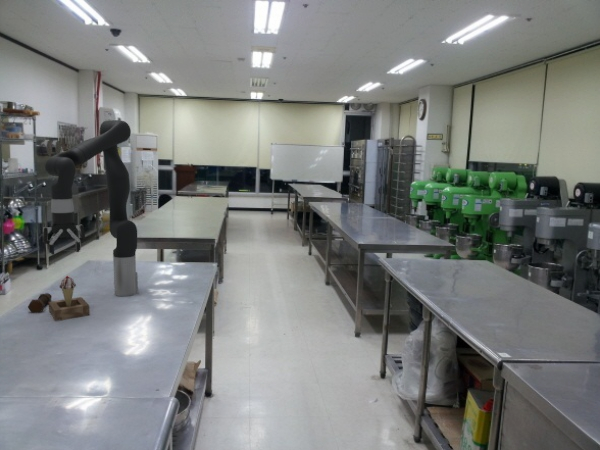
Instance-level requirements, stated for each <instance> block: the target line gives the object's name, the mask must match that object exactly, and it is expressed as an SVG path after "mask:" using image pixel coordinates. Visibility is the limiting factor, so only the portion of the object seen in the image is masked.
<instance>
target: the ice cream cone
mask: <svg viewBox="0 0 600 450" xmlns="http://www.w3.org/2000/svg"><path fill="white" fill-rule="evenodd" d="M75 287H77V284H76V283H75V281H74V278H71V277H70V276H68V275H66V276H65V277H64V278H63V279H62V280H61V282H60V284H59V289H60V290H61V291H62V295H63V300H65V302H66V306H67V307H69V306H71V301H72V298H73V293H74V288H75Z"/></svg>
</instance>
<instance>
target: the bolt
mask: <svg viewBox="0 0 600 450" xmlns="http://www.w3.org/2000/svg"><path fill="white" fill-rule="evenodd" d="M52 297H53V296H52V294H51V293H48V292H46V293H41V294H39V296H38V298H37V299H31V300H30V302H29V304H28V306H27V308H28V310H29V311H30V312H31V314H38V313H41V312H42V311H43V310H44V309H45V306H47V305H48V306H49V302H52V301H51V300H52Z"/></svg>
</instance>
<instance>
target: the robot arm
mask: <svg viewBox="0 0 600 450" xmlns="http://www.w3.org/2000/svg"><path fill="white" fill-rule="evenodd" d="M131 132H132V131H131V126H130V125H129V123H127V122H126V121H124V120H118V119H116V120H114V119H113V120H112V119H111V120H105V121H104V120H103V122H101V123H100V127H99V135H97V136H94V137H92V138H88V139H86V140H83V141H81V142H79V143H78V144H75V145H74V146H73V147H70V148H69V149H67V150H63V151H61V152H60V153H57V154H55V155H52V156H50V157H48V159H47V160H46V161H45V162H44V163H45V164H44V169H45V171H46V172H47V174H48V175H51V176H55V177H58V178H57V182H54V183H52V184H51V187H50V196H51V201H50V203H51V204H50V206H51V207H50V211H51V221H52V222H51V226H49V227H48V226H47V227H46V226H43V228H42V243H44V244H45V245H48V252H49V254H51V255H55V246H54V243H55V242H56V241H57V240H58V238H59V239H64V238H70V237H71V238H72V239H74V245H75V252H76V253H79V252H80V251H81V242H83V241H85V240H86V234H85V227H84V225H83V224H81V223H80V224H79V225H78V224H77V225H76V224H75V223H76V222H75V207H74V206H75V205H74V200H73V184H74V180H75V175H76V169H77V168H76V167H79V166H81V165H84V164H85V163H87V162H88V161H89V160H91V159H93V158H94V157H95V156H97V155H99V154H101V153H102V152H103V157H104V166H105V176H106V177H105V178H106V179H105V181H106V187H107V188H106V189H107V195H108V196H107V198H108V207H109V233H110V234H111V236H112V237H113V238H114V239H116V247H115V248H114V249H113V250H112V258H113V259H112V260H113V261H112V262H113V263H112V264H113V287H114V288H113V290H114V293H113V294H114V296H117V297H129V296H133V295H136V294H139V287H138V286H139V283H138V280H139V279H138V277H139V276H138V271H137V263H136V262H137V260H136V252H137V248H138V228H137V225H136V223H135V222H133V221H131V220H130V219H129V218H128V214H127V203H128V200H129V197H130V192H131V181H130V180H131V179H130V173H129V171H128V169H127V167H126V165H125V163H124V161H123V160H122V158H121V156H120V154H119V151H118V149H119V148H118V145H119V144H122V143H125V142H127V141H128V140H129V139H130V137H131V134H132V133H131ZM76 230H77V231H79V236H80V237H78V235H76V234H75V233H74V232H75V231H76ZM50 232H52V233H53V234H52V235H51V238H50V239H48V236H49V235H48V234H49V233H50Z"/></svg>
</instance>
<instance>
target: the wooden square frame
mask: <svg viewBox="0 0 600 450" xmlns="http://www.w3.org/2000/svg"><path fill="white" fill-rule="evenodd" d="M48 313H49V314H50V316H51V317H52V319H53V320H54V322H58V321H63V320H68V319H75V318H81V317H86V316H87V317H88V316H90V304H89V303H88V302H87V301H86V300H85V299H84V298H83V297H82V296H80V297H72V301H71V306H69V307H67V306H66V302H65V299H60V300H53V301H50V302H49V304H48Z"/></svg>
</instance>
